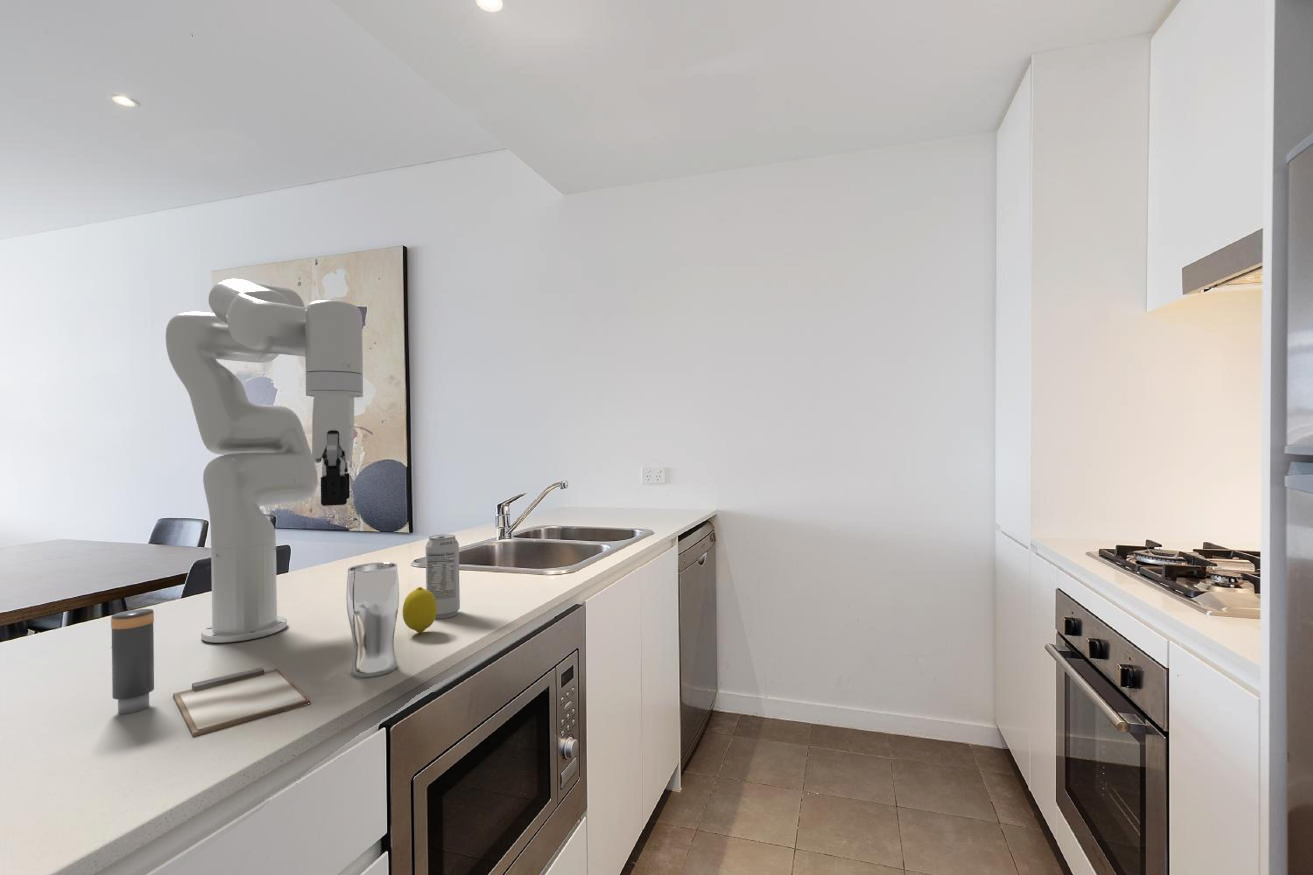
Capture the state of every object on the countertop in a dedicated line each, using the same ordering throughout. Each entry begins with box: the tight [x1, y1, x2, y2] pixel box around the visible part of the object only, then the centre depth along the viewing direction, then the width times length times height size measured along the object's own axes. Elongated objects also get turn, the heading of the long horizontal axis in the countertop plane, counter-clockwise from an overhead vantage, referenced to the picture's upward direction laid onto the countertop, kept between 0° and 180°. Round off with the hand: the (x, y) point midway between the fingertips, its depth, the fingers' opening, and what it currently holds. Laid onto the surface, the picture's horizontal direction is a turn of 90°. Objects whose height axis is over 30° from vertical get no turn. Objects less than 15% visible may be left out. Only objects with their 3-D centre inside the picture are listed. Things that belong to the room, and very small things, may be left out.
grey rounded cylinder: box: [110, 608, 155, 715], centre depth 77 cm, size 4×4×12 cm
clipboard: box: [172, 666, 311, 738], centre depth 79 cm, size 16×12×1 cm
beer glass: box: [345, 561, 400, 679], centre depth 89 cm, size 7×7×15 cm
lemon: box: [402, 586, 437, 634], centre depth 106 cm, size 6×6×8 cm
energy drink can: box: [425, 534, 461, 619], centre depth 117 cm, size 6×6×15 cm
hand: (336, 502), depth 91 cm, fingers open, 9 cm apart
